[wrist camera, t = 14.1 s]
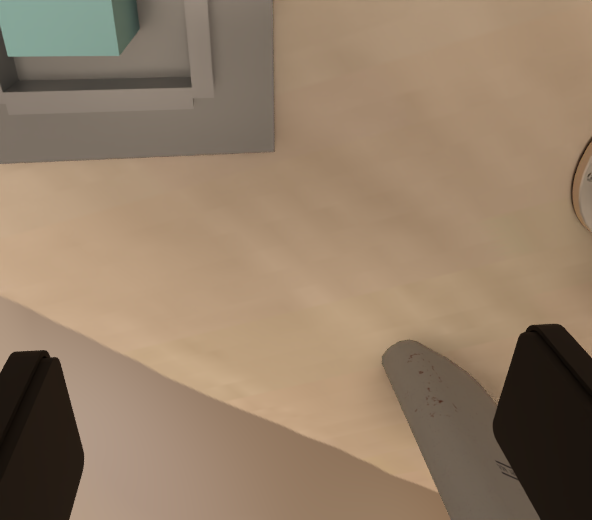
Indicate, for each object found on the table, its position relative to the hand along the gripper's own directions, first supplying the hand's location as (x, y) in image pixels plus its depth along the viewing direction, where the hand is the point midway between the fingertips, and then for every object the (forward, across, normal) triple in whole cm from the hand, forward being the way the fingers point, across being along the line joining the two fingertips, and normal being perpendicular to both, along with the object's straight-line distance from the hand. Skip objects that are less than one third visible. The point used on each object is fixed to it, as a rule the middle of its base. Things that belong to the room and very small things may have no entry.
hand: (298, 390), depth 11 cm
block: (+26, +8, -6) cm, 28 cm away
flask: (+28, -19, +28) cm, 44 cm away
